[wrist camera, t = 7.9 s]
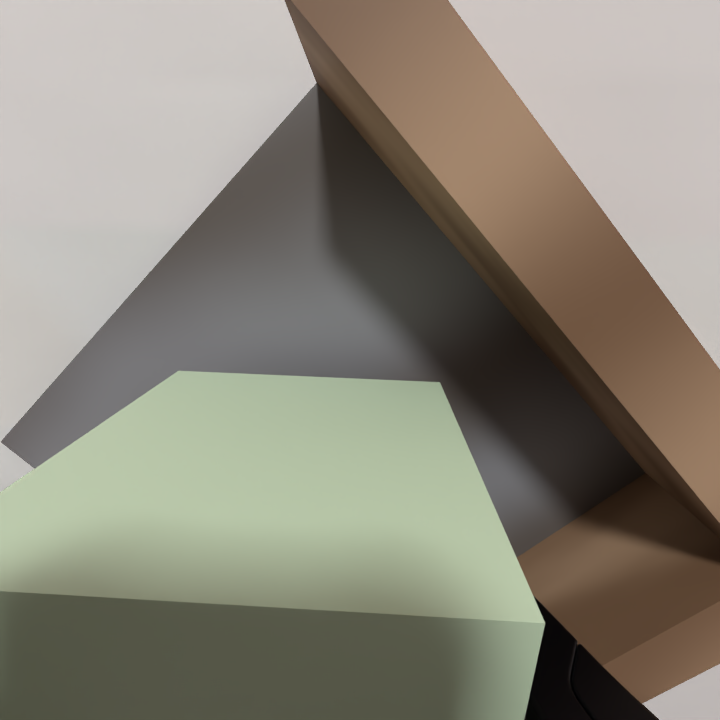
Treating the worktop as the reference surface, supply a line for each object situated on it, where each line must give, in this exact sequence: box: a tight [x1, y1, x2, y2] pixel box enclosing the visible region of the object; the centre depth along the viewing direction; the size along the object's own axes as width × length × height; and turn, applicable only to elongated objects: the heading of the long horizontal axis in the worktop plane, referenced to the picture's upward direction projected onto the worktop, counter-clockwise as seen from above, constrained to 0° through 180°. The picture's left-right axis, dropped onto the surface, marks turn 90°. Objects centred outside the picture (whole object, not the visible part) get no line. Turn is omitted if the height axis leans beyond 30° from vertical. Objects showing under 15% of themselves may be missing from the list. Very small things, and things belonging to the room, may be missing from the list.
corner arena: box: [1, 0, 720, 703], centre depth 10 cm, size 14×14×4 cm
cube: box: [0, 371, 545, 720], centre depth 7 cm, size 6×6×6 cm
